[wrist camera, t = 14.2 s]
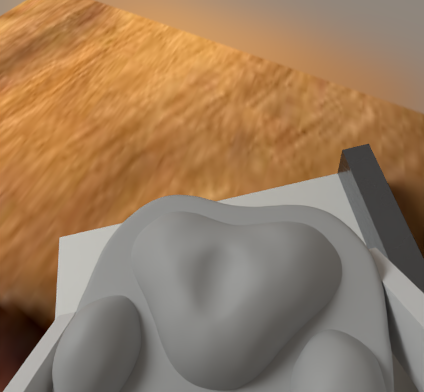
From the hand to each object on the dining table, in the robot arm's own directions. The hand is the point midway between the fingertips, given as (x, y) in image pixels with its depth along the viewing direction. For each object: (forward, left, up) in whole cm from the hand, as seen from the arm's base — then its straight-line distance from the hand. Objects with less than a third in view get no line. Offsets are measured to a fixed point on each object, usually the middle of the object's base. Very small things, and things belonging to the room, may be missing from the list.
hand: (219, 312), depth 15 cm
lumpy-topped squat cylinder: (+1, -2, -5) cm, 5 cm away
